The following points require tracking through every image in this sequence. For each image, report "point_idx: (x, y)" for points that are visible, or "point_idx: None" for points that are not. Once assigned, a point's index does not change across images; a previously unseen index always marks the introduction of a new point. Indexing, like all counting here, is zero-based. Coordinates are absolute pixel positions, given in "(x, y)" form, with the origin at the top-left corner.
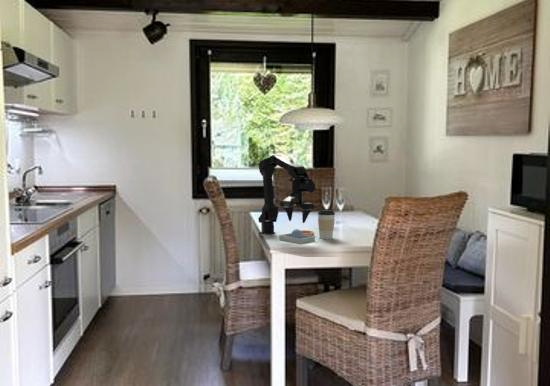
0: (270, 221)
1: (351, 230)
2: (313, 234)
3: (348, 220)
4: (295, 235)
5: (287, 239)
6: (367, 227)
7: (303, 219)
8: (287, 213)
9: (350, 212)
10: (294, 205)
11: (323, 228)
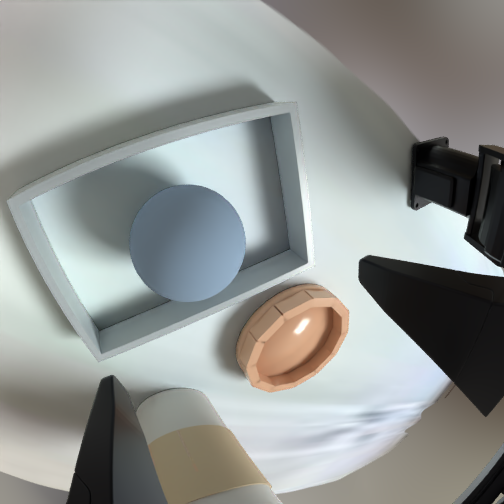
0: (477, 198)
1: (265, 473)
2: (247, 378)
3: (361, 451)
4: (146, 208)
5: (178, 125)
6: (275, 490)
7: (90, 423)
8: (463, 280)
9: (396, 442)
10: (487, 494)
11: (161, 452)
